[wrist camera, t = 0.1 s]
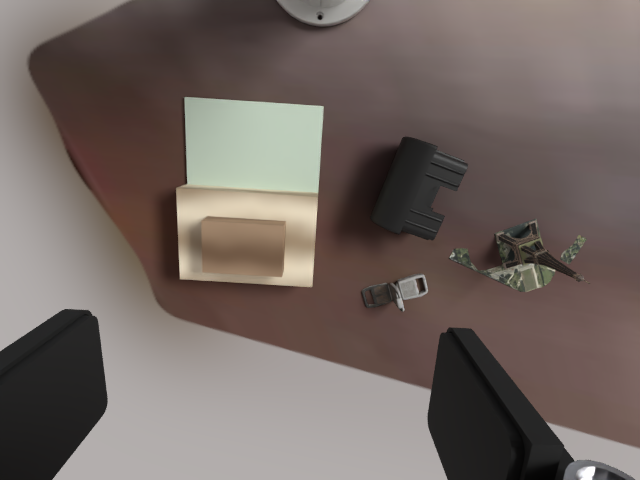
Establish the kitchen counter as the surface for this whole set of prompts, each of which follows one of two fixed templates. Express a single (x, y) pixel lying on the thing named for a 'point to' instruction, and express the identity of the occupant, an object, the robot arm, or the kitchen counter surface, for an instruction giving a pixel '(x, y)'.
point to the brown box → (243, 246)
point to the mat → (253, 144)
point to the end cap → (416, 188)
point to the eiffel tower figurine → (524, 258)
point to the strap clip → (396, 291)
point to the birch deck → (249, 205)
